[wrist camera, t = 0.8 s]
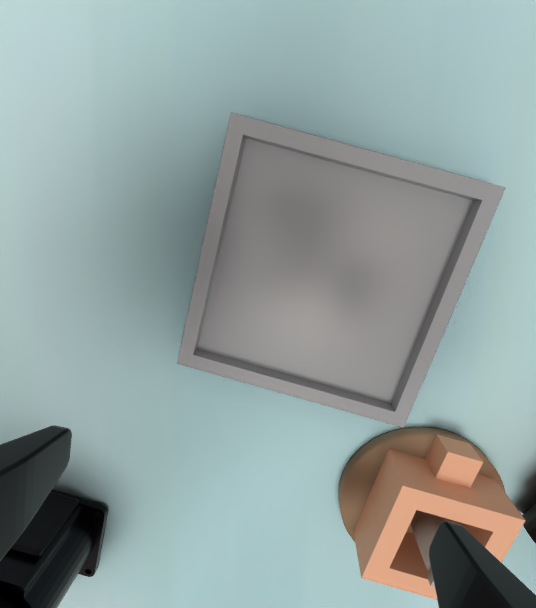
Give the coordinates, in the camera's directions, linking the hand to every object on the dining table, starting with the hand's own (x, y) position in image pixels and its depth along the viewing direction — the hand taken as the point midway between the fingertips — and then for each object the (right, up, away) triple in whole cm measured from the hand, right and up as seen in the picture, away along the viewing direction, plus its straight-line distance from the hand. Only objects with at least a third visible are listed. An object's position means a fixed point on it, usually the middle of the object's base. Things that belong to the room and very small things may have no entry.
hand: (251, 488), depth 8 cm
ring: (+10, -8, +14) cm, 19 cm away
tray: (+4, +6, +12) cm, 14 cm away
